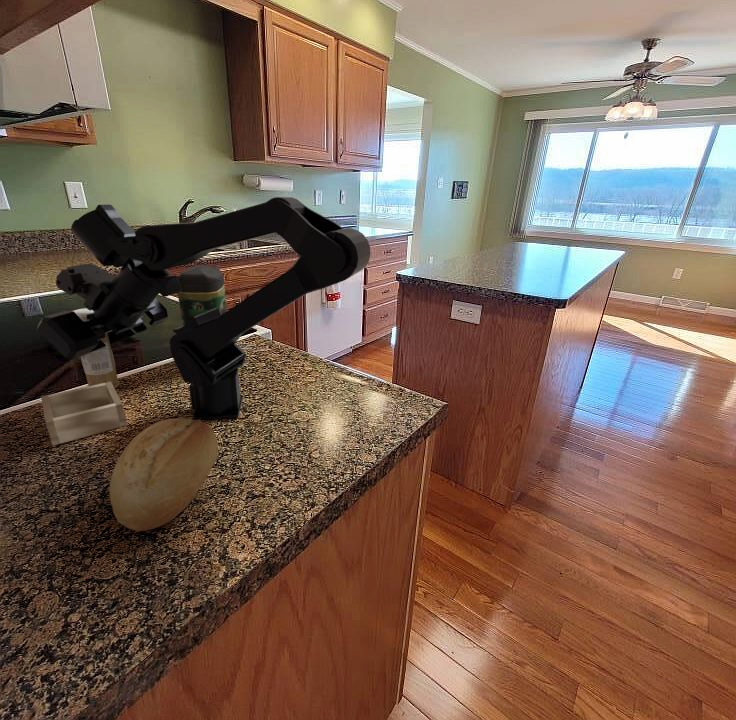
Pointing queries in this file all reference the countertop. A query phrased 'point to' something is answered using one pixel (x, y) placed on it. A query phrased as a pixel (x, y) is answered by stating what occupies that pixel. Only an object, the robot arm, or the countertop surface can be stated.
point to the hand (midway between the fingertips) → (88, 350)
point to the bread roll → (161, 472)
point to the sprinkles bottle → (99, 360)
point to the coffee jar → (201, 291)
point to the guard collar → (82, 412)
